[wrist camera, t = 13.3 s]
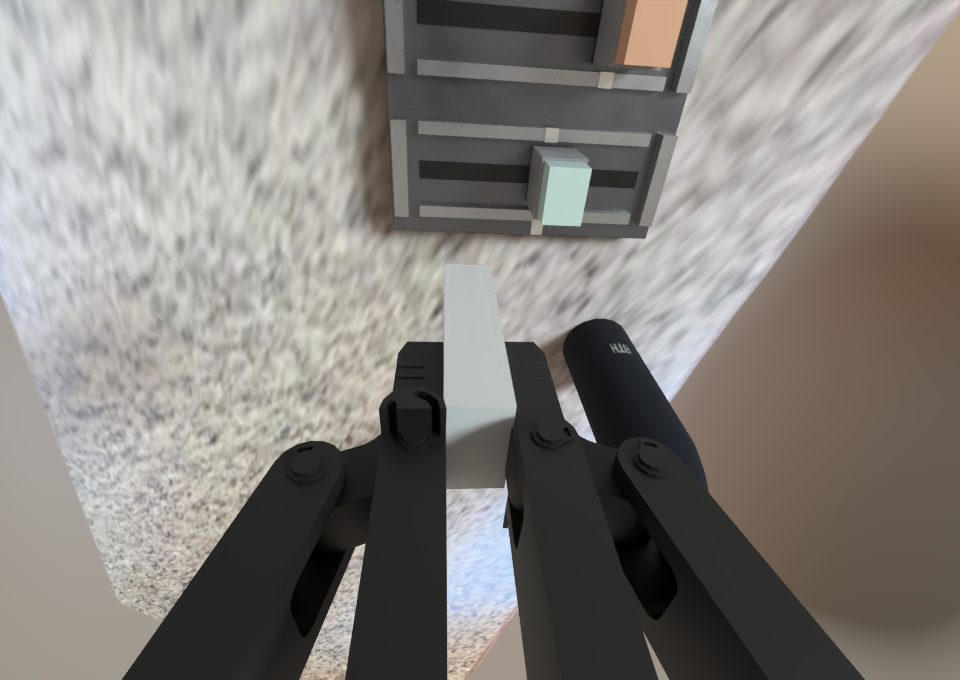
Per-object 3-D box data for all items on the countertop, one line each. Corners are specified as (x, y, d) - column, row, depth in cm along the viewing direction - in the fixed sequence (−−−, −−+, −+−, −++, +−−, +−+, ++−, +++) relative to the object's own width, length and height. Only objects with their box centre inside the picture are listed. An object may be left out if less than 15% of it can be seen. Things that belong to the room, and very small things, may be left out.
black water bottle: (575, 379, 46) (728, 775, 21) (553, 335, 42) (703, 747, 18) (634, 354, 44) (870, 747, 20) (615, 307, 41) (873, 711, 16)
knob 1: (532, 145, 30) (547, 163, 26) (574, 148, 31) (596, 165, 26) (525, 203, 33) (538, 227, 28) (565, 204, 33) (582, 229, 29)
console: (381, -90, 25) (375, -103, 22) (714, -56, 26) (740, -65, 24) (396, 220, 35) (392, 233, 33) (636, 229, 37) (649, 242, 34)
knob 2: (606, -17, 25) (639, -28, 21) (655, -12, 26) (697, -23, 21) (592, 64, 28) (619, 68, 23) (637, 67, 28) (672, 72, 24)
